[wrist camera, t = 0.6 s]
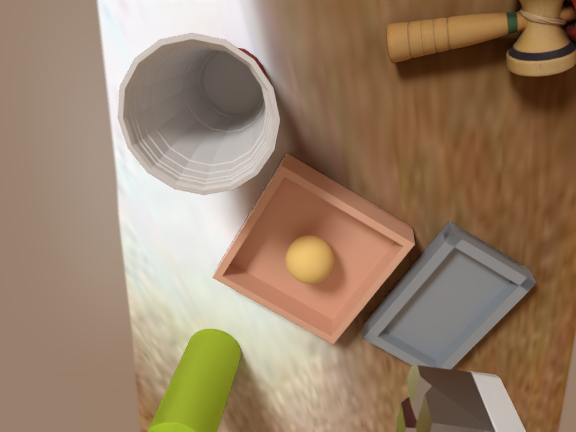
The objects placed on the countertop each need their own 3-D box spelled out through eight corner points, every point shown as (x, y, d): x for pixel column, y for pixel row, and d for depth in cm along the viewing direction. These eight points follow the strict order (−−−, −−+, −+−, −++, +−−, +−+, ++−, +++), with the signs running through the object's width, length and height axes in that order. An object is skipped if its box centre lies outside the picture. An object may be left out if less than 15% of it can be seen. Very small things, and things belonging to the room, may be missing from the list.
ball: (303, 218, 51) (298, 241, 47) (344, 242, 51) (341, 266, 47) (280, 253, 53) (273, 277, 49) (319, 275, 53) (315, 301, 49)
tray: (449, 221, 50) (452, 233, 48) (529, 269, 51) (536, 283, 48) (363, 323, 56) (362, 338, 54) (437, 365, 57) (439, 381, 55)
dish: (286, 152, 49) (281, 165, 46) (412, 227, 50) (414, 244, 47) (220, 260, 55) (212, 277, 52) (335, 324, 56) (333, 344, 53)
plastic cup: (319, 117, 47) (303, 167, 36) (209, 158, 50) (164, 215, 39) (268, -10, 43) (234, 5, 32) (152, 43, 46) (86, 72, 36)
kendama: (400, 93, 47) (646, 56, 41) (390, 100, 41) (675, 59, 35) (389, -3, 45) (645, -57, 39) (377, -10, 39) (676, -74, 33)
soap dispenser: (228, 317, 58) (164, 482, 40) (247, 368, 60) (195, 543, 43) (178, 324, 59) (94, 487, 41) (198, 374, 62) (128, 546, 44)
